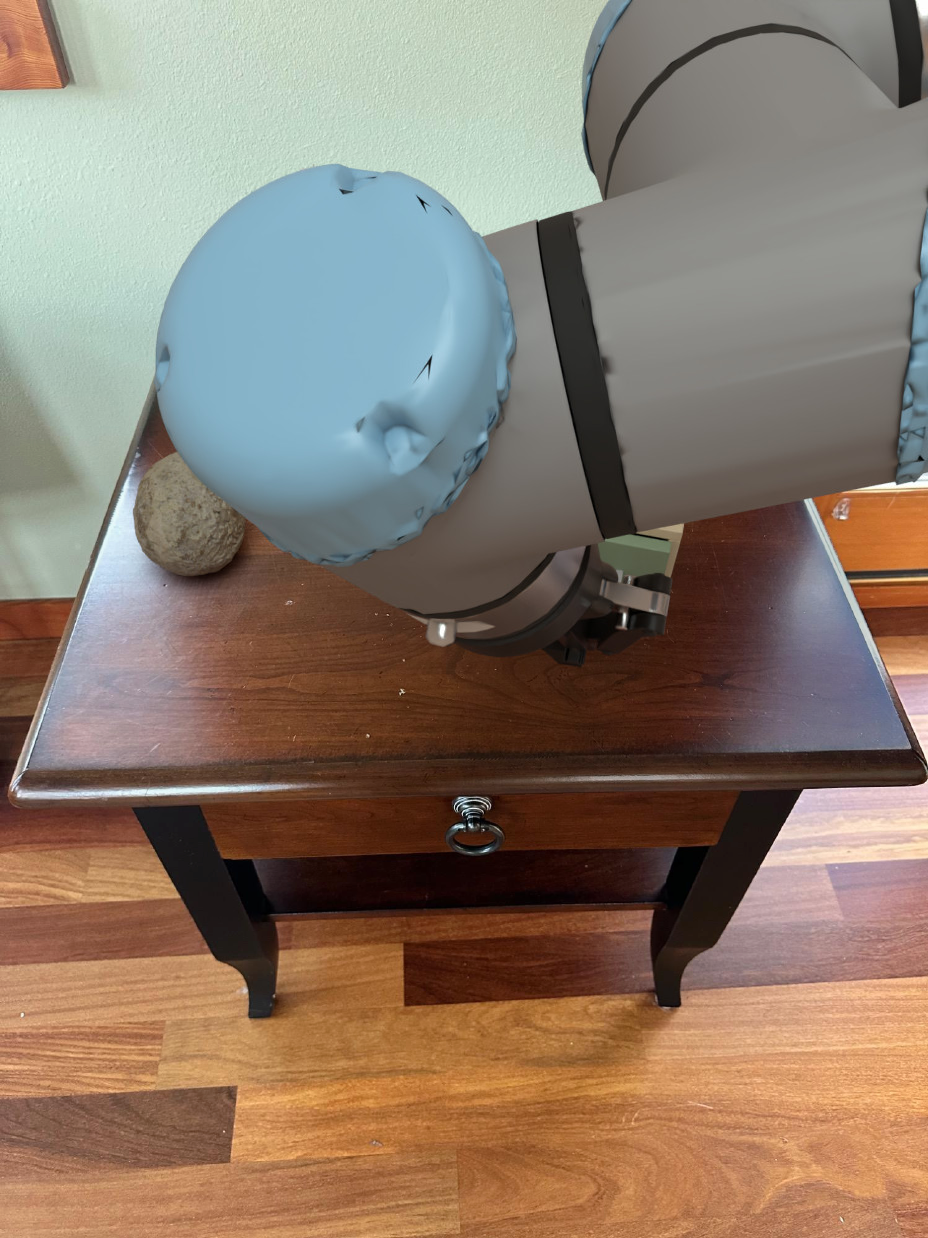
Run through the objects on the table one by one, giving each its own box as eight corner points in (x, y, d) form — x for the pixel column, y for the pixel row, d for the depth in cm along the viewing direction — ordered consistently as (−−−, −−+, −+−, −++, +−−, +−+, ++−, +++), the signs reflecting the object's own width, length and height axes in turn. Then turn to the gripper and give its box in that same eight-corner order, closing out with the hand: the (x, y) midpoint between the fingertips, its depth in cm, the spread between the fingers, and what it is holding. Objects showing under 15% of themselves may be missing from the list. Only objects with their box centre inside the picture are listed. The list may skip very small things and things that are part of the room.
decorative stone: (242, 602, 69) (215, 512, 62) (141, 600, 69) (101, 510, 62) (265, 518, 76) (243, 428, 68) (173, 516, 76) (141, 425, 68)
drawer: (643, 674, 63) (661, 605, 57) (482, 640, 65) (484, 570, 59) (670, 504, 76) (688, 433, 70) (534, 481, 78) (541, 409, 72)
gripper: (301, 616, 31) (464, 685, 54) (650, 672, 28) (669, 722, 50) (343, 429, 33) (486, 573, 55) (685, 458, 29) (688, 600, 51)
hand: (573, 644), depth 52 cm, fingers closed
